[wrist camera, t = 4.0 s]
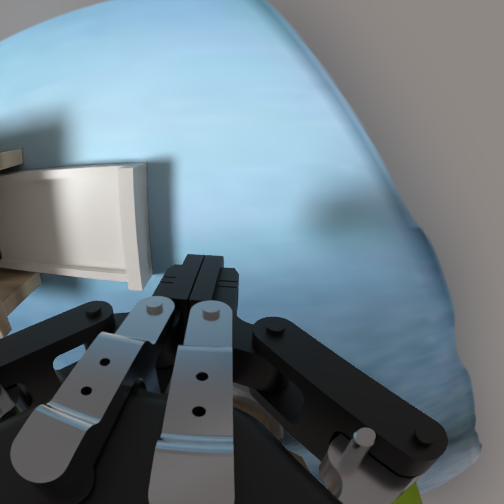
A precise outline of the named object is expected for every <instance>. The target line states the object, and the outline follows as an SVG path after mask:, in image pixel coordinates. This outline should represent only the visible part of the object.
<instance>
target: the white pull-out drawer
mask: <svg viewBox="0 0 504 504" xmlns="http://www.w3.org/2000/svg"><path fill="white" fill-rule="evenodd" d="M0 251H1V255H2V259H1V260H0V267H1V268H8V269H16V270H23V271H31V272H39V273H47V274H56V275H65V276H74V277H83V278H92V279H102V280H113V281H123V282H128V288H129V290H139V291H143V289H144V287H145V286H146V284H147V283H148V281H149V279H150V278H151V276H152V275H153V272H152V261H151V249H150V235H149V219H148V197H147V163H116V164H95V165H79V166H66V167H54V168H43V169H34V170H25V171H16V172H9V173H1V174H0Z"/></svg>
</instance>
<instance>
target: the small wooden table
mask: <svg viewBox="0 0 504 504" xmlns="http://www.w3.org/2000/svg"><path fill="white" fill-rule="evenodd" d="M22 163H23V155H22V148H21V149H16V150H10V151H5V152H0V170H3V169H6V168H9V167H12V166H15V165H19V164H22ZM40 284H42V280H41V276H40V273H39V272H31V271H23V270H16V269H8V268H1V267H0V337H1V338H4V337H6V336H7V334H8V333H9V332H10V331H11V330H12V329H11V326H10V323H9V321H8V318H7V316H8V315H9V314H10V313H11V312H12V311H13V310H14V309H15V308H16V307H17V306H18V305H19V304H20V303H21V302H22V301H23V300H24V299H26V298H27V297H28V296H29V295H30V294H31V293H32V292H33V291H34V290H35V289H36V288H37V287H38V286H39V285H40Z"/></svg>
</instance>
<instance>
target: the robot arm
mask: <svg viewBox="0 0 504 504" xmlns="http://www.w3.org/2000/svg"><path fill="white" fill-rule="evenodd" d="M238 285H239V274H238V272H237V271H236V269H235V268H224V258H223V256H212V255H206V256H205V255H195V254H188V255H187V256H186V258H185V260H184V262H183V264H182V265H173V266H172V267H170V268H169V269H167V271H166V272H165V274H164V276H163V278H162V279H161V281H160V283H159V285H158V286H157V288H156V290H155V292H154V294H153V295H152V296H151V297H147V298H144V299H142V300H140V301H139V302H138V303H137V304H136V305H135V306H134V308H133V309H132V310H131V312H128V313H116V314H114V313H113V309H112V306H111V305H110V304H109V303H107V302H104V301H92V302H88V303H85V304H83V305H80V306H78V307H76V308H73V309H71V310H68V311H66V312H63V313H61V314H59V315H56V316H54V317H51V318H49V319H47V320H44V321H42V322H39V323H37V324H35V325H32V326H30V327H28V328H25V329H23V330H21V331H18V332H16V333H13V334H11V335H9V336H6V337H4V338H2V339H0V504H392V502H393V501H394V500H396V499H397V498H398V497H399V496H400V495H402V494H403V493H404V492H405V491H406V490H407V489H408V488H409V487H410V486H411V485H412V484H413V483H415V482H416V481H417V480H418V479H419V478H420V477H421V476H422V475H423V474H424V473H425V472H426V471H427V470H428V469H429V468H430V467H431V466H432V465H433V464H434V462H435V461H436V460H437V459H438V458H439V457H440V456H441V455H442V454H443V453H444V451H445V450H446V447H447V443H448V439H447V434H446V432H445V430H444V428H443V427H442V426H441V425H440V424H439V423H438V422H437V421H435V420H434V419H432V418H430V417H429V416H427V415H426V414H424V413H423V412H421V411H420V410H418V409H417V408H415V407H414V406H412V405H411V404H409V403H408V402H406V401H405V400H403V399H402V398H400V397H399V396H397V395H396V394H394V393H393V392H391V391H390V390H388V389H387V388H385V387H384V386H382V385H381V384H379V383H378V382H376V381H375V380H373V379H372V378H370V377H369V376H368V375H366V374H365V373H363V372H362V371H360V370H359V369H357V368H356V367H354V366H353V365H352V364H350V363H349V362H347V361H346V360H344V359H343V358H341V357H340V356H339V355H337V354H336V353H334V352H333V351H331V350H330V349H329V348H327V347H326V346H324V345H323V344H322V343H320V342H319V341H317V340H316V339H315V338H313V337H312V336H310V335H309V334H308V333H306V332H305V331H303V330H302V329H301V328H299V327H298V326H296V325H295V324H294V323H292V322H291V321H289V320H287V319H284V318H280V317H266V318H262V319H260V320H258V321H257V322H256V323H255V324H254V325H253V324H250V323H247V322H244V321H242V320H241V319H240V318H238V317H237V308H238ZM82 344H84V346H85V349H86V352H85V353H84V355H83V356H82V357H81V359H80V360H79V361H77V362H75V363H73V364H71V365H69V366H67V367H64V368H62V369H60V370H54V368H53V361H54V359H55V358H56V357H57V356H59V355H61V354H63V353H65V352H67V351H69V350H72V349H74V348H76V347H78V346H80V345H82ZM233 382H234V383H237V384H240V385H243V386H247V387H249V392H250V394H251V396H252V397H253V398H254V399H255V400H256V401H257V402H258V403H259V404H260V405H261V406H262V407H263V408H264V409H265V410H266V411H267V412H268V413H269V414H270V415H271V416H272V417H273V418H274V419H275V420H277V421H278V422H279V423H280V424H281V425H282V426H283V427H284V428H285V429H286V430H287V431H288V432H289V433H290V434H291V435H292V436H294V437H295V438H296V439H297V440H298V441H299V442H300V443H301V444H302V445H303V446H304V447H306V448H307V449H308V450H309V451H310V452H311V453H312V454H313V455H315V456H316V457H317V458H318V459H319V460H320V461H321V464H320V467H319V475H320V478H321V480H322V481H323V483H324V484H325V485H326V486H327V487H328V489H329V490H328V489H327V488H326V487H324V486H323V485H322V484H321V483H320V482H319V481H318V480H317V479H316V478H315V477H314V476H313V475H312V474H311V473H310V472H309V471H308V470H307V469H306V468H305V467H304V466H303V465H302V464H301V463H300V462H299V461H298V460H297V459H296V458H295V457H294V456H293V455H292V454H291V453H290V452H289V451H288V450H287V449H286V448H285V447H284V446H283V445H282V444H281V443H280V442H279V441H278V440H277V439H276V438H275V437H274V436H273V435H272V433H271V432H270V431H269V430H268V429H267V428H266V427H265V426H264V425H263V424H262V423H261V422H259V421H258V420H257V419H256V418H254V417H253V416H251V415H250V414H248V413H246V412H244V411H242V410H240V409H238V408H235V407H233Z"/></svg>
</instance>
